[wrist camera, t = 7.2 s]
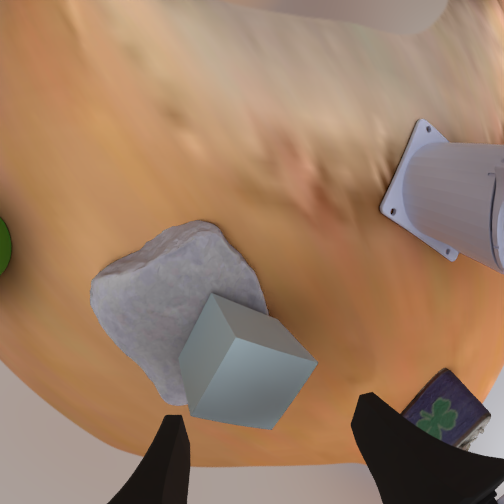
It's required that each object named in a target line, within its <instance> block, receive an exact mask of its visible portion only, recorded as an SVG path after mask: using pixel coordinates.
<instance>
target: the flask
mask: <svg viewBox="0 0 504 504" xmlns="http://www.w3.org/2000/svg"><path fill="white" fill-rule="evenodd" d="M400 415H402V416H403V417H404V418H406V419H407V420H409V421H410V422H411V423H413V424H414V425H416V426H417V427H419V428H420V429H422V430H423V431H425V432H427V433H428V434H430V435H432V436H433V437H435V438H437V439H439V440H441V441H443V442H445V443H447V444H450V445H452V446H454V447H457V448H460V449H462V450H465V451H468V449H469V447H470V443H471V442H473V441H474V440H475V439H476V438H477V437H476V438H474V437H475V436H478V434H479V433H483V432H484V427H485V426H486V425H487V423H488V422H489V420H490V418H491V414H490V413H489V411H488V410H487V409H486V408H485V407H484V406H483V405H482V403H481V402H480V401H479V400H478V399H477V398H476V397H475V396H474V395H473V394H472V393H471V392H470V391H469V390H468V389H467V387H466V386H465V385H464V384H463V383H462V382H461V381H460V380H459V379H458V378H457V377H456V376H455V375H454V373H452V372H451V371H450V370H448V369H446V368H443V369H442V370H441V371H439V372H438V373H437V374H436V375H435V376H434V377H433V378H432V379H431V380H430V381H429V382H428V383H427V384H426V386H425V387H423V389H422V390H420V392H419V394H417V396H416V398H415V399H414V400H412V401H411V403H410V404H409V405H408V406H407V407H406V409H405V410H404V411H403V412H402V413H401V414H400ZM473 438H474V439H473ZM472 439H473V440H472Z"/></svg>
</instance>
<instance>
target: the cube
mask: <svg viewBox="0 0 504 504" xmlns="http://www.w3.org/2000/svg"><path fill="white" fill-rule="evenodd" d="M178 359H179V364H180V369H181V374H182V379H183V384H184V389H185V393H186V398H187V402H188V407H189V411H190V415H191V416H193V417H198V418H202V419H207V420H212V421H217V422H223V423H228V424H234V425H240V426H247V427H254V428H261V429H270V430H272V428H273V427H274V426H275V424H276V423H277V422H278V420H279V419H280V418H281V416H282V415H283V414H284V412H285V411H286V410H287V408H288V407H289V405H290V404H291V403H292V401H293V400H294V398H295V397H296V395H297V394H298V393H299V391H300V390H301V388H302V387H303V385H304V384H305V382H306V381H307V379H308V378H309V376H310V375H311V373H312V372H313V370H314V369H315V367H316V366H317V364H318V362H317V361H316V360H315V358H314V357H313V356H312V355H311V354H310V353H309V352H308V351H307V350H306V349H305V348H304V347H303V346H302V345H301V344H300V343H299V342H298V341H297V340H296V338H295V337H294V336H293V335H292V334H291V333H290V332H289V331H288V330H287V329H286V328H285V327H284V326H283V325H282V324H281V322H280V321H279V320H278V319H276V318H273V317H270V316H268V315H265V314H263V313H260V312H258V311H255V310H253V309H250V308H247V307H245V306H243V305H240V304H238V303H235V302H233V301H230V300H228V299H225V298H223V297H221V296H218V295H216V294H213V293H211V294H210V296H209V298H208V300H207V302H206V304H205V306H204V308H203V310H202V312H201V314H200V316H199V318H198V320H197V322H196V324H195V326H194V328H193V330H192V332H191V334H190V336H189V338H188V340H187V342H186V344H185V346H184V348H183V350H182V352H181V354H180V356H179V358H178Z"/></svg>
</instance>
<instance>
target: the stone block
mask: <svg viewBox="0 0 504 504" xmlns="http://www.w3.org/2000/svg"><path fill="white" fill-rule="evenodd" d="M211 293H213V294H216V295H218V296H221V297H223V298H225V299H228V300H230V301H233V302H235V303H238V304H240V305H243V306H245V307H247V308H250V309H253V310H255V311H258V312H260V313H263V314H265V315H268V316H269V312H268V309H267V307H266V302H265V299H264V296H263V292H262V290H261V288H260V284H259V281H258V279H257V276H256V274H255V272H254V271H253V269H252V268H251V267H250V266H249V265H248V264H247V262H246V261H245V259H244V258H243V257H242V255H241V254H240V253H239V252H238V251H237V250H236V249H235V248H234V247H232V246H231V245H230V244H229V243H228V241H227V240H226V239H225V237H224V235H223V234H222V232H221V231H220V229H219V228H218V227H217V226H215V225H214V224H211V223H208V222H204V221H200V220H196V221H191V222H188V223H186V224H183V225H180V226H172V227H170V228H168V229H166V230H164V231H162V233H161V234H159V235H157V236H156V237H155V238H154V239H152V240H151V241H148V242H146V244H145V245H144V246H143V247H142V248H141V249H140V250H139V251H137V252H135V253H132V254H129V255H128V256H126V257H123V258H121V259H119V260H117V261H115V262H113V263H111V264H109V265H108V266H107V267H106V268H104V269H103V270H102V271H100V272H99V273H98V274H97V275H96V276H95V278H93V279H92V281H91V290H90V305H91V307H92V309H93V311H94V313H95V315H96V316H97V318H98V321H99V323H100V325H101V326H102V328H103V329H104V330H105V331H106V333H107V334H108V335H109V337H110V338H111V339H112V340H113V341H114V343H115V344H116V345H117V346H118V347H119V348H120V349H121V350H122V351H123V352H124V353H125V354H126V355H127V356H129V357H130V358H131V359H132V360H134V361H135V362H136V363H137V364H138V365H139V366H140V367H141V368H142V369H143V370H144V371H145V373H146V375H147V376H148V378H149V379H150V380H151V381H152V382H153V383H154V385H155V387H156V388H157V390H158V392H159V394H160V396H161V397H162V399H163V400H164V401H165V402H167V403H168V404H171V405H176V406H180V405H186V404H188V402H187V398H186V393H185V389H184V384H183V379H182V374H181V369H180V364H179V359H178V358H179V356H180V354H181V352H182V350H183V348H184V346H185V344H186V342H187V340H188V338H189V336H190V334H191V332H192V330H193V328H194V326H195V324H196V322H197V320H198V318H199V316H200V314H201V312H202V310H203V308H204V306H205V304H206V302H207V300H208V298H209V296H210V294H211Z"/></svg>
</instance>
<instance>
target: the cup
mask: <svg viewBox="0 0 504 504" xmlns="http://www.w3.org/2000/svg"><path fill="white" fill-rule="evenodd" d="M10 257H11V240H10V235H9V232H8V229H7V227H6V225H5V223H4V222H3V220H2V219H1V218H0V275H1V274H2V273H3V272H4V270H5V269H6V267H7V265H8V263H9V260H10Z"/></svg>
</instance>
